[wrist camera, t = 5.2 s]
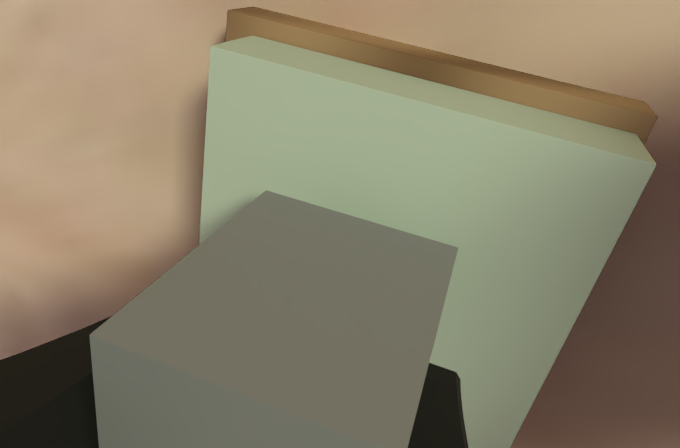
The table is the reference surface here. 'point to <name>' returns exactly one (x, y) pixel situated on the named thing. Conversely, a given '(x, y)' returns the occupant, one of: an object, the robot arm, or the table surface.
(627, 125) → the walnut slab
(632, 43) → the table surface
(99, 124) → the table surface
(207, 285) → the grey block
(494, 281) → the grey-green slab
